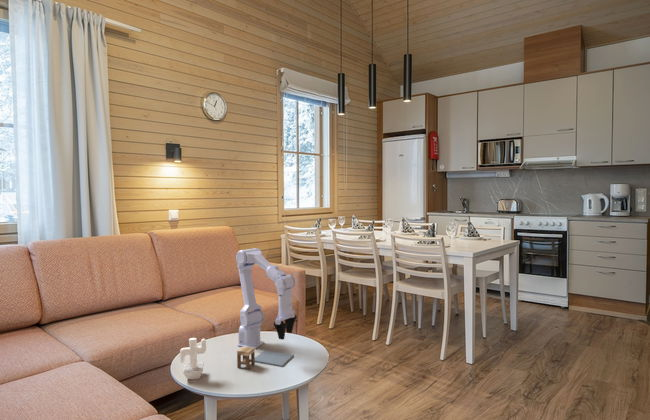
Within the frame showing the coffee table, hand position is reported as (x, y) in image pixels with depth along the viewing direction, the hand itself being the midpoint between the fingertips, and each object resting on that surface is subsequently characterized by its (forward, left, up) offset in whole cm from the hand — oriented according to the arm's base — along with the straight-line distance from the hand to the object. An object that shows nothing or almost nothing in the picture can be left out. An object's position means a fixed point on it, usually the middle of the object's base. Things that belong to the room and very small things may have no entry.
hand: (285, 335), depth 176 cm
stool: (-12, -12, -10) cm, 20 cm away
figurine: (-26, -27, -10) cm, 39 cm away
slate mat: (-5, -2, -10) cm, 11 cm away
